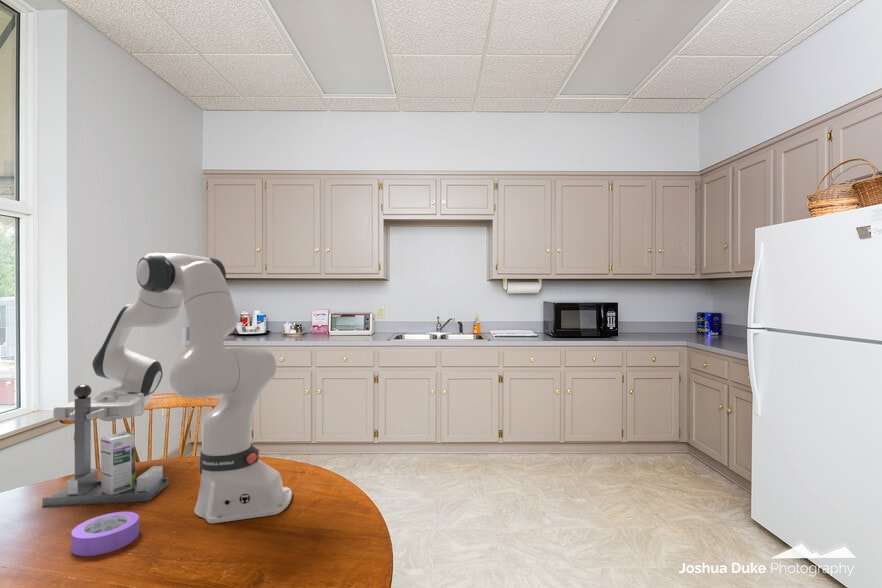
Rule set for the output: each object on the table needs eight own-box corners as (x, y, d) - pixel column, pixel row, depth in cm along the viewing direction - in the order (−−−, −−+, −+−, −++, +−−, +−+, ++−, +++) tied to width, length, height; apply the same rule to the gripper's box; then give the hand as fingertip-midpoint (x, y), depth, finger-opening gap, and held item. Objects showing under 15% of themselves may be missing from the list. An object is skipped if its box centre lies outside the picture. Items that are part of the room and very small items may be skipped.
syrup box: (111, 496, 117) (111, 439, 117) (100, 491, 120) (100, 436, 120) (135, 488, 122) (135, 433, 122) (124, 483, 125) (124, 430, 125)
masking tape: (72, 539, 99) (72, 521, 99) (136, 522, 106) (136, 506, 106) (70, 564, 90) (70, 544, 90) (141, 544, 97) (141, 526, 97)
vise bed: (168, 484, 127) (168, 464, 127) (149, 501, 117) (149, 478, 117) (70, 489, 124) (70, 468, 124) (42, 506, 114) (42, 483, 114)
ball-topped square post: (99, 484, 124) (99, 381, 124) (80, 497, 116) (80, 387, 116) (85, 485, 123) (85, 381, 123) (64, 498, 115) (64, 387, 116)
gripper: (73, 394, 131) (36, 406, 118) (149, 392, 134) (122, 403, 120) (73, 416, 131) (36, 430, 118) (149, 414, 134) (122, 427, 120)
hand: (80, 417), depth 119 cm, fingers closed on ball-topped square post, 2 cm apart
